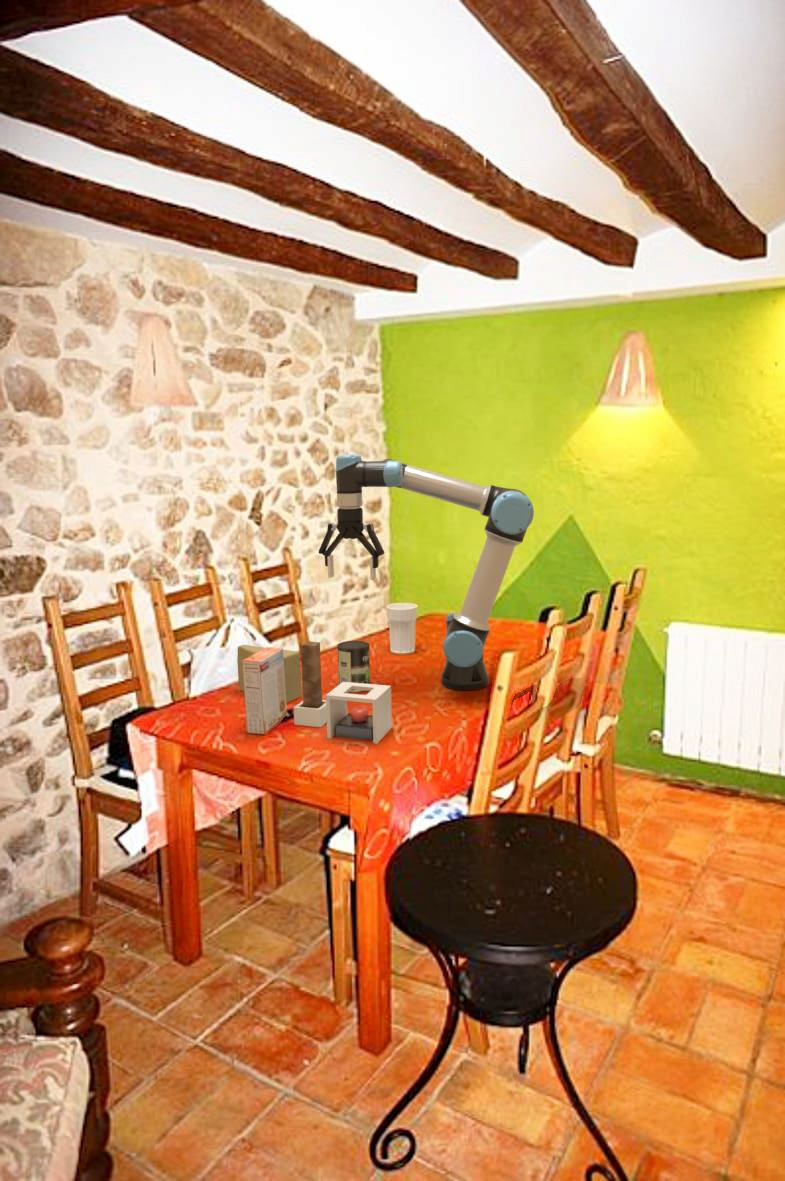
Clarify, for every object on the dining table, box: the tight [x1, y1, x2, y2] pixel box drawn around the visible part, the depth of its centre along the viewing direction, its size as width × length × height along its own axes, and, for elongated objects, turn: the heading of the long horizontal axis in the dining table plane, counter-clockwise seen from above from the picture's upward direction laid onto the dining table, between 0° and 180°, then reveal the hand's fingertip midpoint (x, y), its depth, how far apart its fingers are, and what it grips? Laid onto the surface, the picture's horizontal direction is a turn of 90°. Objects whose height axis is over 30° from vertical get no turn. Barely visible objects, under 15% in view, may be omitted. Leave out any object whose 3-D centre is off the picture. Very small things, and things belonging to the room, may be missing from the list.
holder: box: [293, 699, 327, 728], centre depth 226 cm, size 8×8×5 cm
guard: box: [325, 682, 393, 745], centre depth 216 cm, size 14×12×12 cm
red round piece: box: [350, 706, 369, 723], centre depth 216 cm, size 5×5×6 cm
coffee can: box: [336, 640, 371, 693], centre depth 255 cm, size 10×10×14 cm
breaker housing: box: [335, 712, 373, 742], centre depth 217 cm, size 10×9×4 cm
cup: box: [386, 602, 418, 656], centre depth 295 cm, size 11×11×17 cm
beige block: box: [236, 644, 303, 704], centre depth 249 cm, size 22×10×15 cm, turn 56°
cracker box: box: [242, 646, 288, 736], centre depth 222 cm, size 14×6×21 cm, turn 161°
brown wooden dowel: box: [300, 640, 323, 708], centre depth 224 cm, size 4×4×22 cm
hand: (351, 578), depth 242 cm, fingers open, 13 cm apart
